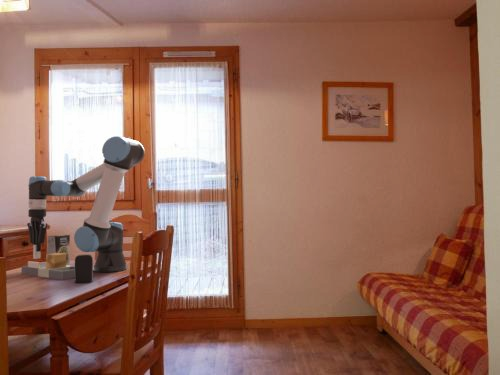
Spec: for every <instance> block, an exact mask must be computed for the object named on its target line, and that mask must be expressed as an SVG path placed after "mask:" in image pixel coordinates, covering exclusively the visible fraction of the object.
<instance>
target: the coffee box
mask: <svg viewBox="0 0 500 375" xmlns="http://www.w3.org/2000/svg"><path fill="white" fill-rule="evenodd" d="M70 235H71V234H57V235H47V241H46V242H47V243H46V244H47V245H46V254H53V253H65V254H66V265H70V249H71V248H70V245H71V244H70V243H71V239H70V238H71V236H70Z"/></svg>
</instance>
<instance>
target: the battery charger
mask: <svg viewBox="0 0 500 375" xmlns="http://www.w3.org/2000/svg"><path fill="white" fill-rule="evenodd" d="M74 266H75V278H74V283H75V284H85V283H91V282H93V272H94V258H93V255H92V254H90V253H89V254H88V253H87V254H78V255H76V256H75V258H74Z"/></svg>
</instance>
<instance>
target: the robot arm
mask: <svg viewBox="0 0 500 375" xmlns="http://www.w3.org/2000/svg"><path fill="white" fill-rule="evenodd" d="M101 151H102V154H103V155H102V156H103V158H104V159H103V161H102V162H103V163H102V164H100V165H98V166H96V167H94V168H92V169H91V170H89V171H88V172H85V173H84V174H81V175H80V176H79V177H77V178H75V179H73V180H71V181H69V180H65V179H64V180H63V179H57V180H54V179H53V180H52V179H51V180H47V179H48V178H47V177H46V176H40V175H39V176H36V175H35V176H34V175H33V176H30V177H29V180H28V215H27V216H28V217H29V218H30V222H27V223H26V225H27V227H28V228H27V229H28V236H29V243H30V244H32V254H33V255H32V260H33V259H35V260H37V259H41V257H42V256H41V251H42V250H41V249H42V248H41V247H42V244H45V239H46V232H47V231H46V230H47V227H48V223H47V222H46V223H45V217H47V209H46V208H47V197H82V196H84V195H85V194H86V192H87V191H88V190H90V189H92V188H93V187H96V186H97V185H98V186H99V187H98V188H97V192H96V195H95V199H94V201H93V205H92V208H91V211H90V213H89V216H88V217H87V218H85V219H84V221H83V224H82V226H80V227H79V228H77V229H76V231H75V232H74V235H73V239H74V244H75V246H76V248H77V249H78V250H80V251H81V252H83V253H95V252H97V257H96V260H95V263H94V264H93V272H97V273H113V272H120V271H121V272H122V271H125V270H127V268H128V267H127V265H128V264H127V261H126V257H125V256H124V225H123V224H122V223H121V222H116V221H110V219H111V216H112V212H113V209H114V207H115V203H116V200H117V197H118V194H119V191H120V188H121V185H122V181H123V179H124V176H125V174H126V173H127V172H129V171H130V169H132V168H134V167H136V166H138V165H139V164H140V163H141V162H142V161H143V160H144V158H145V155H146V151H145V148H144V146H143V145H142V143H141V142H139V141H138V140H135V139H130V138H127V137H124V136H117V135H116V136H115V135H114V136H112V137H109V138H108V139H106V140H105V142H104V143H103V145H102V149H101Z"/></svg>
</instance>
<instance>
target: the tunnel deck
mask: <svg viewBox="0 0 500 375" xmlns="http://www.w3.org/2000/svg"><path fill="white" fill-rule="evenodd" d="M21 275H27V276H28V275H29V276H33V277H34V276H35V277H41V278H46V279H52V280H53V279H54V280H61V281H65V280H70V279H75V265H70V264H69V265H66V267H62V268H55V269H52V268H46V262H43V263H42V262H38V261H29V260H28V261H27V265H21Z"/></svg>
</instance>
